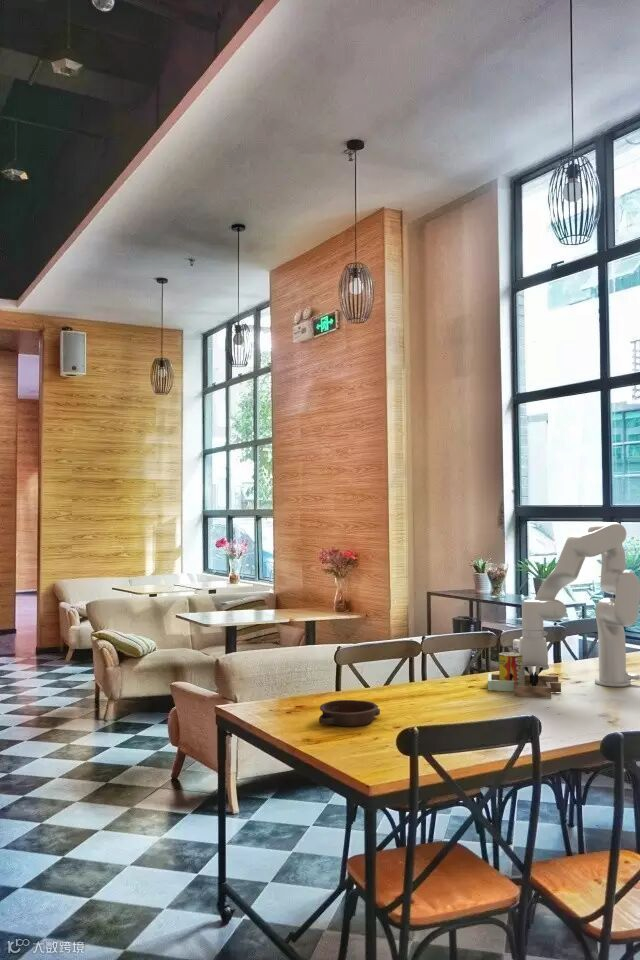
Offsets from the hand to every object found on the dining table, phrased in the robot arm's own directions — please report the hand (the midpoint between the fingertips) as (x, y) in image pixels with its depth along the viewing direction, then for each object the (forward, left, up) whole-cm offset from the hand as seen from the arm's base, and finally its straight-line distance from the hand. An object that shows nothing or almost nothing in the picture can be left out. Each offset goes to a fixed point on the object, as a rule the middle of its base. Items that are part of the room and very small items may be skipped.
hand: (534, 685), depth 288 cm
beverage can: (+8, 0, -1) cm, 8 cm away
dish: (+57, +60, -2) cm, 83 cm away
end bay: (+11, 0, -1) cm, 11 cm away
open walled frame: (+3, +4, -1) cm, 5 cm away
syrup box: (+3, -20, -1) cm, 20 cm away
